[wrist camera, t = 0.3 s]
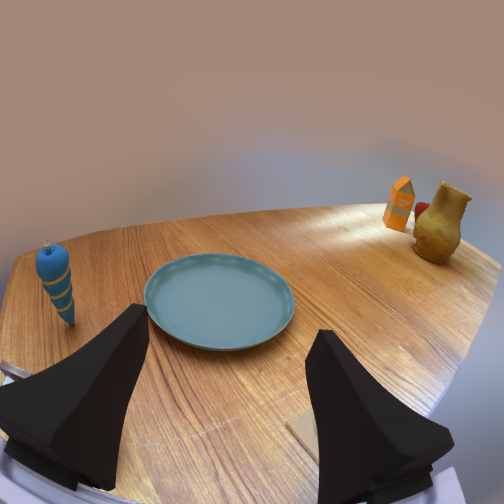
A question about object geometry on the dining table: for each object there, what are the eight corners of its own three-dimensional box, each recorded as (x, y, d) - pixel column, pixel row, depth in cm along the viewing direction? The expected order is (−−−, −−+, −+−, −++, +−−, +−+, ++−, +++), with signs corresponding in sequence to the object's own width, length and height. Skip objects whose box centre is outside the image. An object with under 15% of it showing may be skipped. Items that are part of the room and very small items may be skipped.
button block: (324, 472, 22) (333, 466, 20) (284, 424, 27) (289, 416, 26) (379, 427, 27) (389, 419, 26) (342, 389, 32) (349, 379, 31)
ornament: (90, 316, 37) (70, 230, 30) (81, 339, 33) (53, 250, 25) (63, 312, 36) (41, 229, 29) (53, 335, 32) (23, 248, 24)
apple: (434, 236, 96) (444, 210, 90) (414, 230, 97) (423, 202, 91) (426, 226, 105) (434, 202, 99) (406, 220, 107) (414, 195, 101)
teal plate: (280, 271, 57) (283, 257, 55) (302, 366, 36) (308, 351, 34) (162, 260, 54) (162, 246, 52) (128, 352, 33) (124, 336, 32)
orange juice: (399, 224, 99) (413, 178, 90) (403, 232, 92) (419, 182, 82) (382, 219, 101) (395, 172, 91) (385, 226, 93) (401, 176, 83)
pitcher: (400, 236, 86) (425, 170, 73) (439, 250, 85) (465, 190, 72) (413, 260, 72) (446, 184, 59) (456, 275, 70) (489, 207, 57)
